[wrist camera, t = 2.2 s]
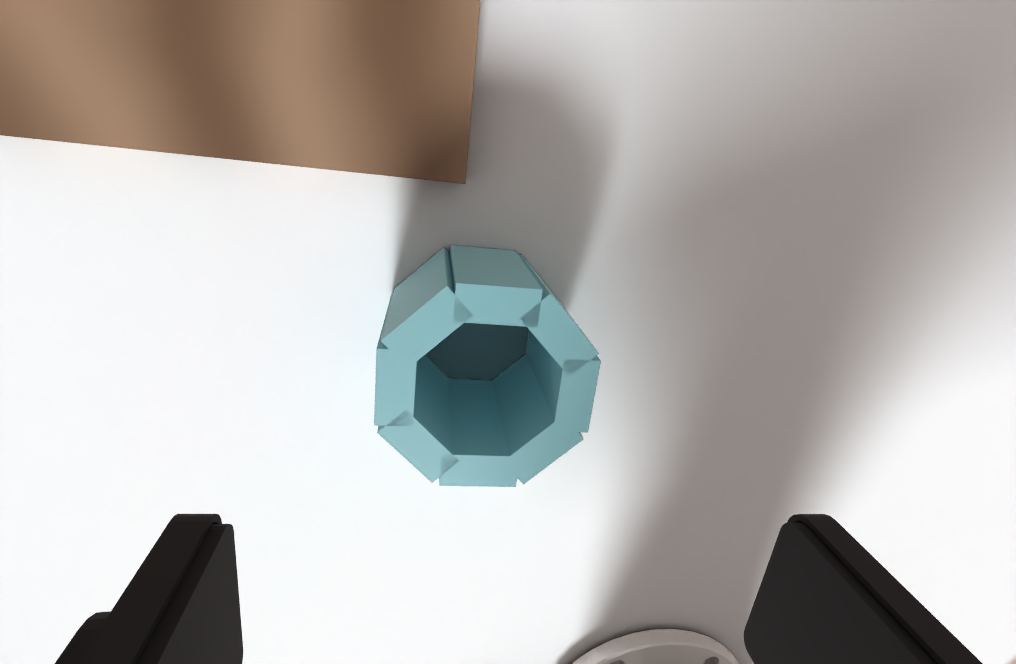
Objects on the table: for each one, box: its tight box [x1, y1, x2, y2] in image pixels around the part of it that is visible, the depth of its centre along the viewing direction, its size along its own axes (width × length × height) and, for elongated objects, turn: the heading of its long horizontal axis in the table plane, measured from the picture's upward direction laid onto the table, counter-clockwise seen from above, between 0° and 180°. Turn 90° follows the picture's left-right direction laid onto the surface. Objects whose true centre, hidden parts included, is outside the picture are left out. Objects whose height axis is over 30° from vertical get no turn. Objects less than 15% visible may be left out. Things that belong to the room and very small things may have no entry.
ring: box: [374, 245, 601, 487], centre depth 20 cm, size 7×7×6 cm
